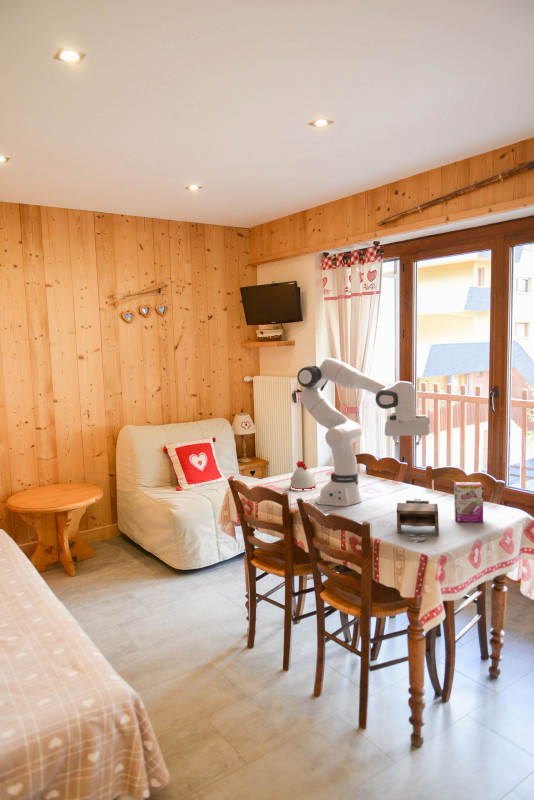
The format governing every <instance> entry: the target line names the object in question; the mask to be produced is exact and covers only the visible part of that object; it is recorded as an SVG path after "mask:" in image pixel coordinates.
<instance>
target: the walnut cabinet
mask: <svg viewBox="0 0 534 800" xmlns="http://www.w3.org/2000/svg"><path fill="white" fill-rule="evenodd" d="M402 526H409V527H413V526H415V527H434V532H435V537H439V536H440V531H439V530H440V529H439V508H438V503H429V504H420V503H406V502H397V505H396V528H397V530H396V532H397V534H401V532H402Z"/></svg>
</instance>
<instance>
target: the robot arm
mask: <svg viewBox="0 0 534 800" xmlns="http://www.w3.org/2000/svg"><path fill="white" fill-rule="evenodd" d="M296 377H297V379H296V380H297V382H298V384H299V385H300V386H302V387H303V388H304V389H303V390H302V392H301V393H300V395H299V400H300V402H301V403H302V405H303V406H304V408H305V409H306V410H307V412H308V413H309V414H310V416H311V417H313V418H314V419H315V421H317V423H318V425H320V426H322V427H324V428H327V429H328V431H326V433H325V442H326V443H327V445H328V446H329V448H330V450H331V454H332V456H333V457H332V458H333V469H334V471H331V473H330V481H328V482H327V483H326V484H324V485H323V486H322V487H321V489H320V493H319V495H317V496H316V499H315V503H316V504H318V505H325V506H327V505H328V506H337V507H348V506H351V505H356V504H359V503H361V502H362V497H361V495H360V490H359V488H360V487H359V482H360V481H359V472H358V466H357V456H356V455H355V453H354V451H353V448H352V444H354V443H355V442H357V441H358V440H359V439H360V437H361V436H362V433H363V431H362V426H361V425H360V424H359V423H358V422H356V421H354V420H352V419H350V418H349V417H347V416H346V415H345V414H343V413H341V412H340V411H339V410H338V409H336V408H335V406H334V405H333V404H332V403H331V402H330V401H329V400H328V399H327V398H326V397H325V395H324V394H322V391H323V390H324V389H325V387H326V385H328V382H329V381H330V382H332V383H334V384H335V385H338V386H339V387H342V388H345V389H349V390H351V389H354V390H355V389H356V390H357V389H358V390H359V389H361V390H365V391H368V392H370V393H372V394H374V395H375V403H376V405H377V406H378V407H379V408H380V409H384V410H389V409H393V408H395V410H396V411H395V412H392V413H390V414H388V415H387V416H386V421H385V426H384V435H385V436H386V437H392V440H393V441H394V445H395V446H399V440H396V437H397V436H398V437H403V436H407V437H410V436H411V437H412V436H413V437H415V436H418V437H417V438H418V439H417V440H415V445H416V446H420V441H421V439H422V436H424V437H425V436H428V435H429V434H430V428H429V427H430V426H429V425H430V424H431V422H430V420H431V419H430V417H429V416H427V415H426V414H425V415H424V414H423V415H417V407H416V400H417V399H416V391H415V390H416V388H415V386H414V384H413V382H411V381H407V380H398V381H396V382H395V383H393V384H392V385H388V384H385V383H383V382H380V381H379V380H376V379H375V378H372V377H370V376H367V375H365V374H364V373H362V372H360V371H359V370H358V369H356V368H355V367H352V366H351V365H349V364H348V363H346V362H343V361H341V360H339V359H335V358H331V357H328V358H326V359H324V360H323V361H322V362H321V364H320V366H317V365H311V366H310V365H308V366H307V365H306V366H305V367H302V368H301V369H299V371H298V372H297V376H296Z"/></svg>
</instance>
